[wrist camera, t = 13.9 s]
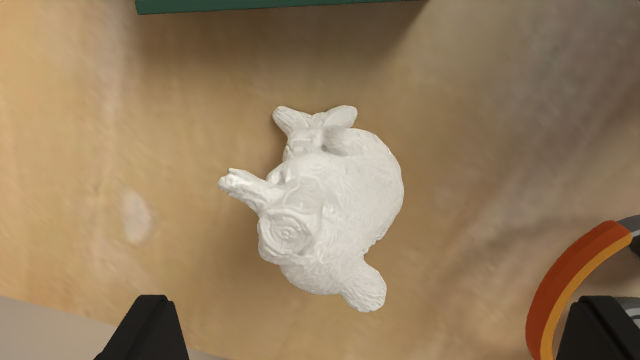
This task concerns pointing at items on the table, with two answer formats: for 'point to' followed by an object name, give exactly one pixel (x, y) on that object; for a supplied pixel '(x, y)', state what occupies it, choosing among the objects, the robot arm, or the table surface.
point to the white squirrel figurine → (324, 204)
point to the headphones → (578, 280)
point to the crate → (231, 5)
